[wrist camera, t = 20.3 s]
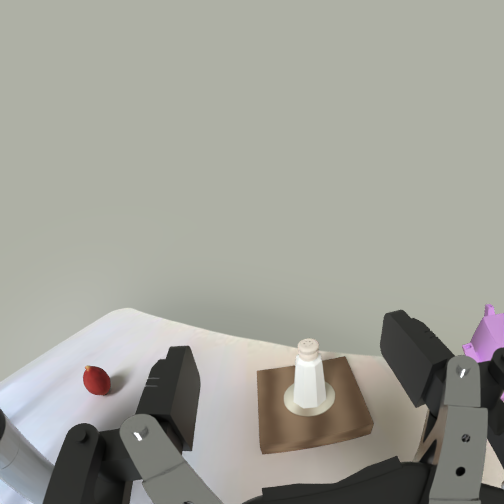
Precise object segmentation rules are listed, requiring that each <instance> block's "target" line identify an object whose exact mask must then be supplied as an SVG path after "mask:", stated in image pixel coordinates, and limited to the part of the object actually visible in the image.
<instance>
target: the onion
mask: <svg viewBox="0 0 504 504" xmlns="http://www.w3.org/2000/svg"><path fill="white" fill-rule="evenodd" d="M85 369H86V370H85V372H84V375H83V382H84V385H85V387H86V388H87V390H88V391H89V392H90V393H92V394H95V395H105V394H106V393H107V392H108V391H109V389H110V378H109V376H108V375H107V373H106V372H105V371H104V370H103V369H101V368H99V367H95V366H86V367H85Z"/></svg>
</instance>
